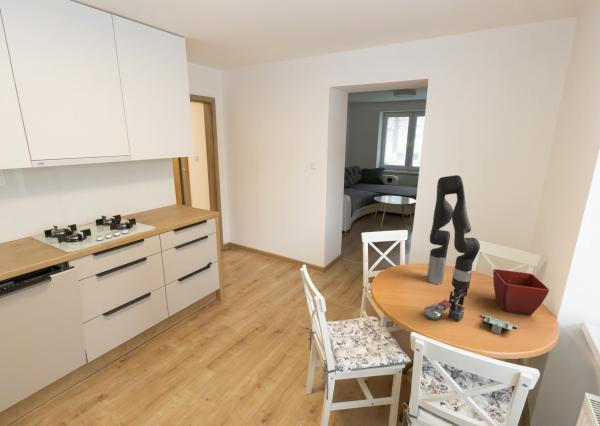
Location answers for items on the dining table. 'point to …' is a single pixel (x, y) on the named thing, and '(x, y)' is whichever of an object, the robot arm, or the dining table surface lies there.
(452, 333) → the dining table surface
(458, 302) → the robot arm
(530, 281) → the plant pot
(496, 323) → the metal bracket
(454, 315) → the grey block
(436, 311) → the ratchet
